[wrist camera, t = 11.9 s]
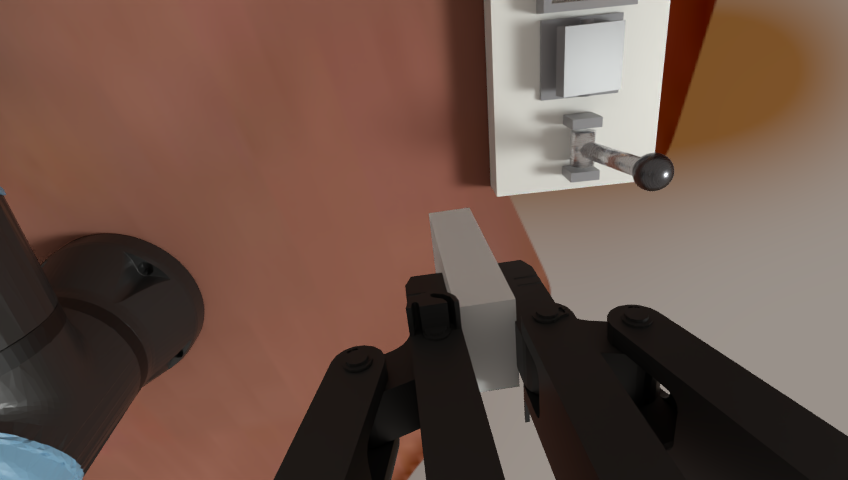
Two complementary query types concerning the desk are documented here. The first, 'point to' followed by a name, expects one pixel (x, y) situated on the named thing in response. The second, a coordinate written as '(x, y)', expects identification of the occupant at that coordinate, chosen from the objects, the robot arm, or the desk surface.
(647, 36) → the switch panel
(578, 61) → the rocker switch
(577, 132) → the toggle lever
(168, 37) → the desk surface
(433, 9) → the desk surface
